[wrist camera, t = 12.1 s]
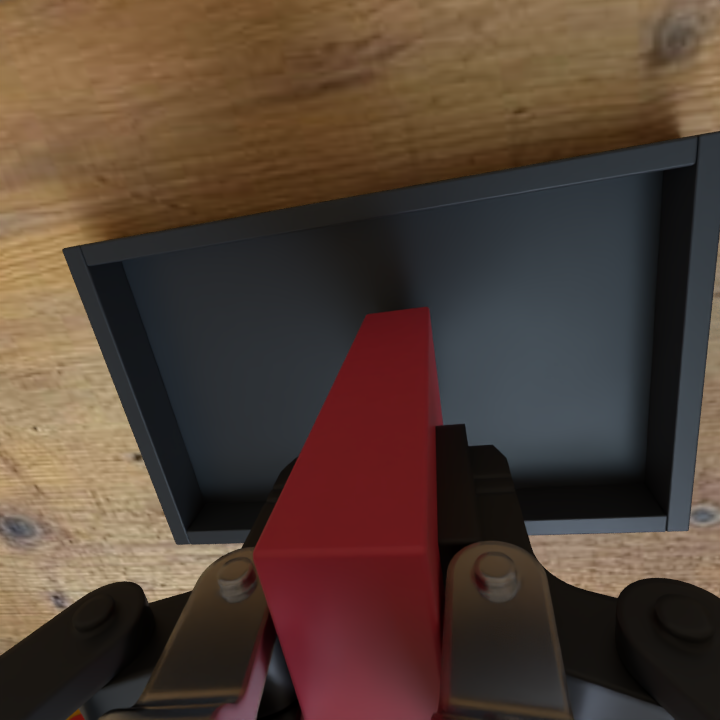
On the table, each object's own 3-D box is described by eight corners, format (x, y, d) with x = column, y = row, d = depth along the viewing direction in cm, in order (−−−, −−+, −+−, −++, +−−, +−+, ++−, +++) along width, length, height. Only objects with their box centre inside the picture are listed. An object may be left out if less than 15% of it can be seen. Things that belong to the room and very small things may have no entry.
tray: (682, 137, 13) (731, 128, 11) (657, 489, 17) (689, 531, 15) (106, 240, 17) (60, 248, 15) (201, 509, 21) (175, 545, 19)
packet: (428, 305, 14) (426, 550, 5) (445, 440, 16) (467, 818, 6) (365, 313, 14) (247, 554, 5) (387, 444, 16) (328, 806, 7)
